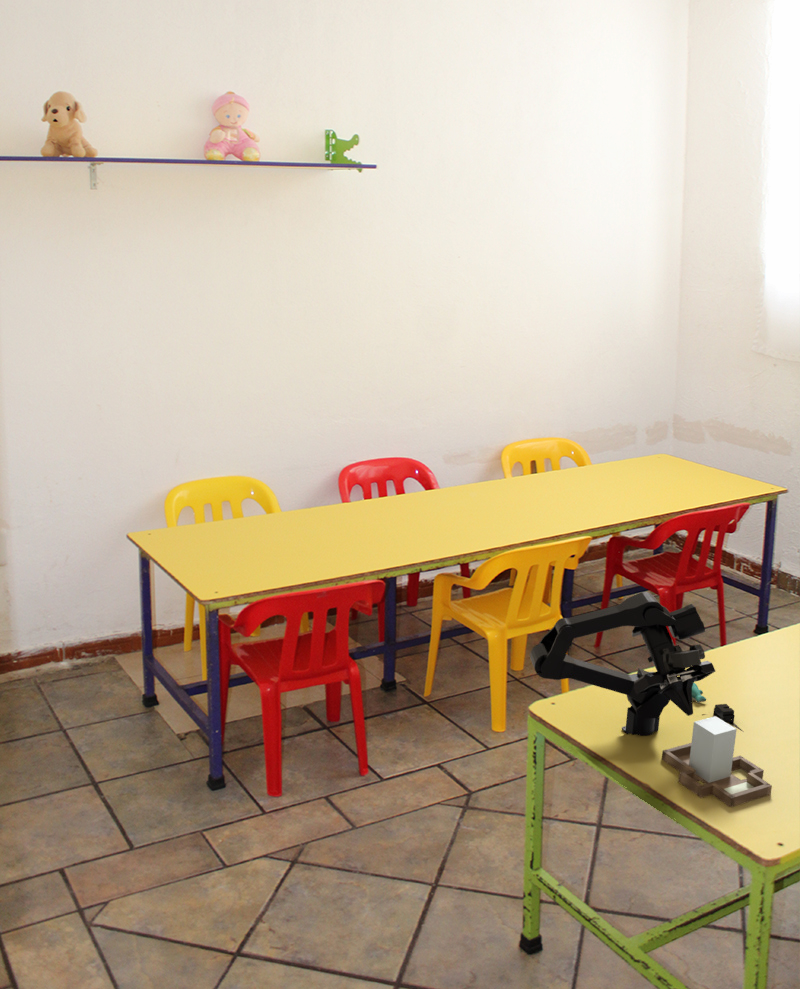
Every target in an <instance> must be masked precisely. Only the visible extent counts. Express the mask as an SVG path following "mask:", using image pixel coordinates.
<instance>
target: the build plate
mask: <svg viewBox="0 0 800 989" xmlns="http://www.w3.org/2000/svg"><path fill="white" fill-rule="evenodd" d="M705 715H707V713H704V714H701V716H705ZM713 716H716V717H718V718H719V719H721V720H723V721H724V722H726V723H728V724H729V725H731V726H733V727H734V728H736V729H737V730H739V731H740V732H743V733H744V730H743V729H741V728H740V727H739V725H737V724H736V723H735V722H734V721H735V710H734V709H733V708H731V707H730V706H729V705H728V704H727V703H721V704H720V703H718V704H715V705H714V707H713Z"/></svg>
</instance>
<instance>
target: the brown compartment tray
mask: <svg viewBox="0 0 800 989" xmlns="http://www.w3.org/2000/svg"><path fill="white" fill-rule="evenodd" d="M691 743H692V742H689V743H686V744H682V745H677V746H674V747H671V748H666V749H663V750H662V751H661V752H662V754H661V760H662V761H663V762H665V763H666V764H668V765H670V766H671V767H672V768H674V769H675V770H677V771H678V772H679V773H678V782H677V783H680V785H682V786H684V787H685V788H686V789H687V790H689V791H691V792H692V793H693V794H695V795H696V796H698V797H699V798H700V799H702V798H705V797H710V796H713V797H715V798H716V799H718V800H719V801H721V802H722V803H724V804H725V805H726V806H728V807H729V808H732V807H733V808H734V807H735V806H739V805H742V804H745V803H749V802H751V801H755V800H758V799H761V798H763V797H764V798H765V797H767V796H770V795H771V794H772V788H773V786H772V784H770V783H769V782H768V781H765V780H764V779H763V777H764V770H765V769H763V768H761V767H759V766H758V765H756V764H754V763H753V762H751V761H750V760H748V759H747V758H745V757H744V756H741V755H737V756H733V761H732V769H731V772H734V771H737V770H740V769H741V770H743V771H744V772H746V773H747V775H746V776H747V778H744V779H740V778H739V777H738V776H736V775H734V774H733V773H731V776H730V777H727V778H724V779H720V780H717V781H713V782H710V783H708V782H707V781H705V780H704V779H703V778H701V777H700V776H698V775H697V774H695V773H696V770H695V769H694V768H692V767H691V766H689V760H690V751H691ZM700 782H701V783H703V784H701V783H700Z"/></svg>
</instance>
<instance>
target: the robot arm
mask: <svg viewBox="0 0 800 989" xmlns="http://www.w3.org/2000/svg"><path fill="white" fill-rule="evenodd" d="M620 627H633V629H632V631H631V636H632V637H633V638H634V637H637V636H641V637H642V640H643V642H644V643H645V646H646V649H647V651H648V653H649V657H648V658H647V661H648V663H653V665H654V667H655V670H656V671H647V670H644V669H642V668H640V667H639V668H637V672H636V673H630V674H628V673H624V672H622V671H618V670H615V669H612V668H609V667H608V668H607V667H604V666H601V665H597V664H595V663H590V662H588V661H587V662H586V661H584V660H581V659H577V658H575V657H574V658H573V657H571V656H570V655H568V651H569V648H570V646H571V644H572V643H573V641H574V640H575V639H578V638H581V637H585V636H589V635H594V634H598V633H601V632H605V631H609V630H612V629H613V630H614V629H618V628H620ZM704 633H706V628H705V624H704V622H703V621H702V619H701V617H700V615H699V613H698V610H697V608H696V606H695V605H694V604H693V603H690V604H688V605H685V606H684V607H680V608H679V609H676V610H675V609H674V611H669V609H668V608H667V607H665V606H663V605H662V604H661V603H660V601H659V600H658V599H657V598H656V597H655V596H654V594H652V593H650V592H648V591H647V592H646V591H641V592H639V593H637V594H634V595H632V596H630V597H628V598H626V599H624V600H623V601H622V602H621V603H619V604H617V605H614V606H610V607H605V608H602V609H599V610H595V611H591V612H586V613H582V614H579V615H575V616H571V617H561V618H560V619H557V621H556V623H555V624H554V625H553V627H552V628H551V629H550V630H548V632H546V633H545V634H544V635H543V637H541V639H540V641H539V643H538V644H535V645H534V646H533V647H532V648H531V650H530V652H529V653H530V654H529V659H530V661H531V664H532V666H533V669H534V672H536V674H537V676H538V677H540V678H542V679H546V680H555V681H560V680H566V679H569V680H570V679H571V680H574V681H578V682H580V683H581V682H582V683H585V684H589V685H592V686H595V687H599V688H601V689H605V690H608V691H612V692H615V693H619V694H622V695H626V698H627V700H628V702H629V704H630V706H629V707H627V711H626V719H625V720H626V723H625V726H621V730H622V731H623V732H624V733H625V734H626V735H633V736H640V737H648V736H651V735H653V734H654V733H656V732H658V731H659V729H660V728H659V726H660V718H661V715H662V712H663V711H664V709H665V707H667V705H668V704H669V703H670V701H671V702H672V703H673V704H674V705H675V706H677V707H678V709H679V710H681V711H682V712H683V713H684V714H685V715H686V716H688V717H689V716H693V715H694V705H693V700H692V686H693V683H695V682H699V681H702V680H703V679H705V678H707V677H708V676H710V675H712V674H714V673H715V672H716V669H715V666H714V665H713V663H712V662H711V661H709V660H704V659H705V658H706V653H705V650H704V649H703V646H702V645H701V644H698V643H697V644H693V645H689V649H687V650H683V649H682V647H681V646H680V645H679V644H678V645H677V644H676V645H675V644H674V641H673V638H674V639H676V638H677V640H678V641H684V640H686V639H690V638H692V637H695V636H699V635H700V634H704ZM672 637H673V638H672ZM701 660H703V661H701Z"/></svg>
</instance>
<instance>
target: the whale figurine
mask: <svg viewBox="0 0 800 989" xmlns="http://www.w3.org/2000/svg"><path fill="white" fill-rule="evenodd" d="M703 694H704V692H703V690H702V689H700V688H699V686H698V685H697V683H695V682H694V683H693V686H692V702H696V703H699V704H700V703H704V702H707V698H706V697H705V696H704V695H703Z"/></svg>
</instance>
